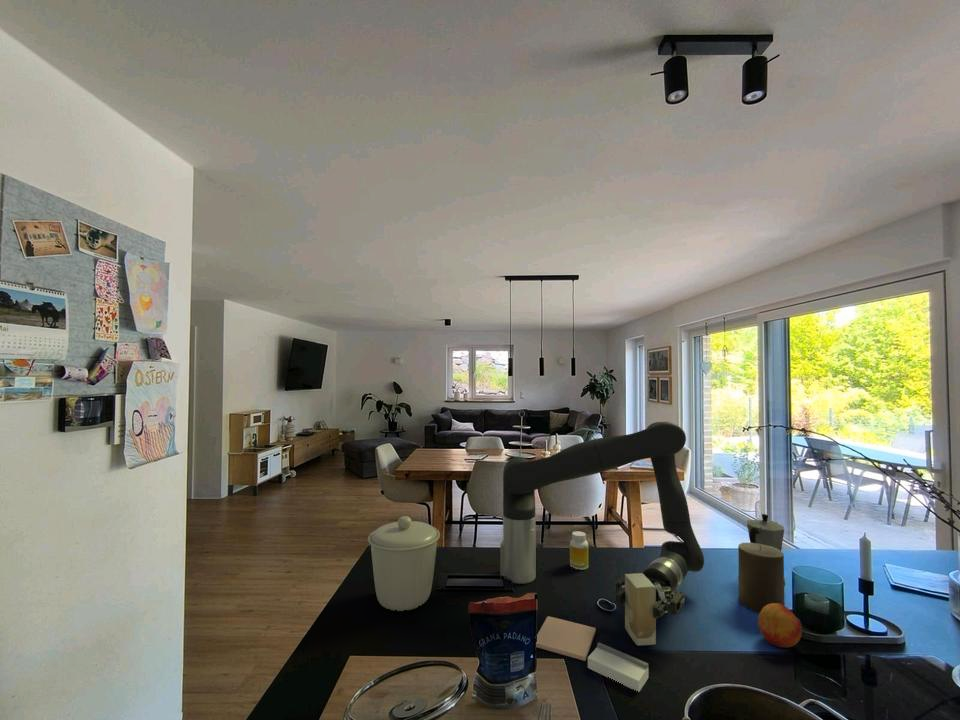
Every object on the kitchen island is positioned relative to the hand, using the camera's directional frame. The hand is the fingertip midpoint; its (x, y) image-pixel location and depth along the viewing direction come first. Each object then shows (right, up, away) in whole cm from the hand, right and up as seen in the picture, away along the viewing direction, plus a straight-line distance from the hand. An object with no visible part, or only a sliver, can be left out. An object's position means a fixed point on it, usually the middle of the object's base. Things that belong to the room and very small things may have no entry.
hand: (636, 606), depth 91 cm
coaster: (-15, -8, +3) cm, 17 cm away
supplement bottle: (-3, -10, +38) cm, 39 cm away
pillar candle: (+37, -9, +17) cm, 42 cm away
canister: (-53, -9, +18) cm, 56 cm away
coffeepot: (+47, -10, +30) cm, 56 cm away
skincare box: (+1, -7, +1) cm, 8 cm away
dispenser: (-7, -8, -8) cm, 13 cm away
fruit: (+31, -9, +1) cm, 32 cm away
